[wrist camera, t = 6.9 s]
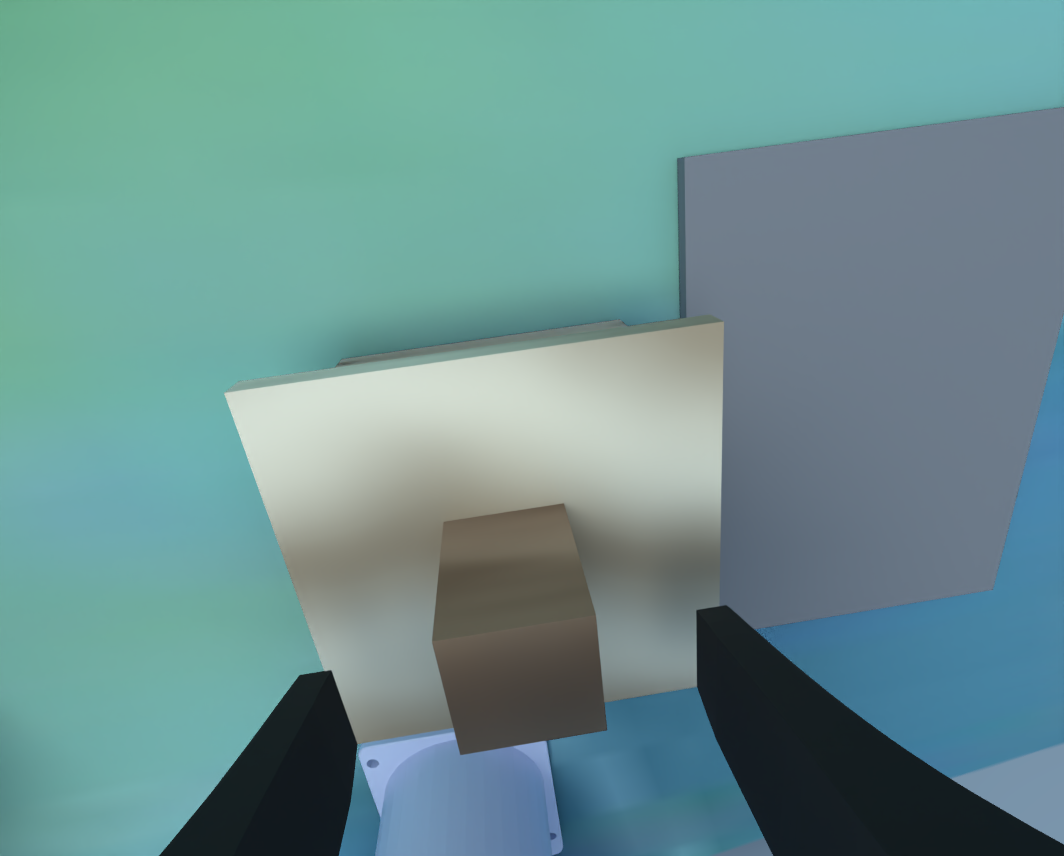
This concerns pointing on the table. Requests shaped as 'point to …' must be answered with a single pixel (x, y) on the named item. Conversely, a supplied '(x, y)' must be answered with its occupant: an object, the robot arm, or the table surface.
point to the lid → (500, 525)
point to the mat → (875, 354)
